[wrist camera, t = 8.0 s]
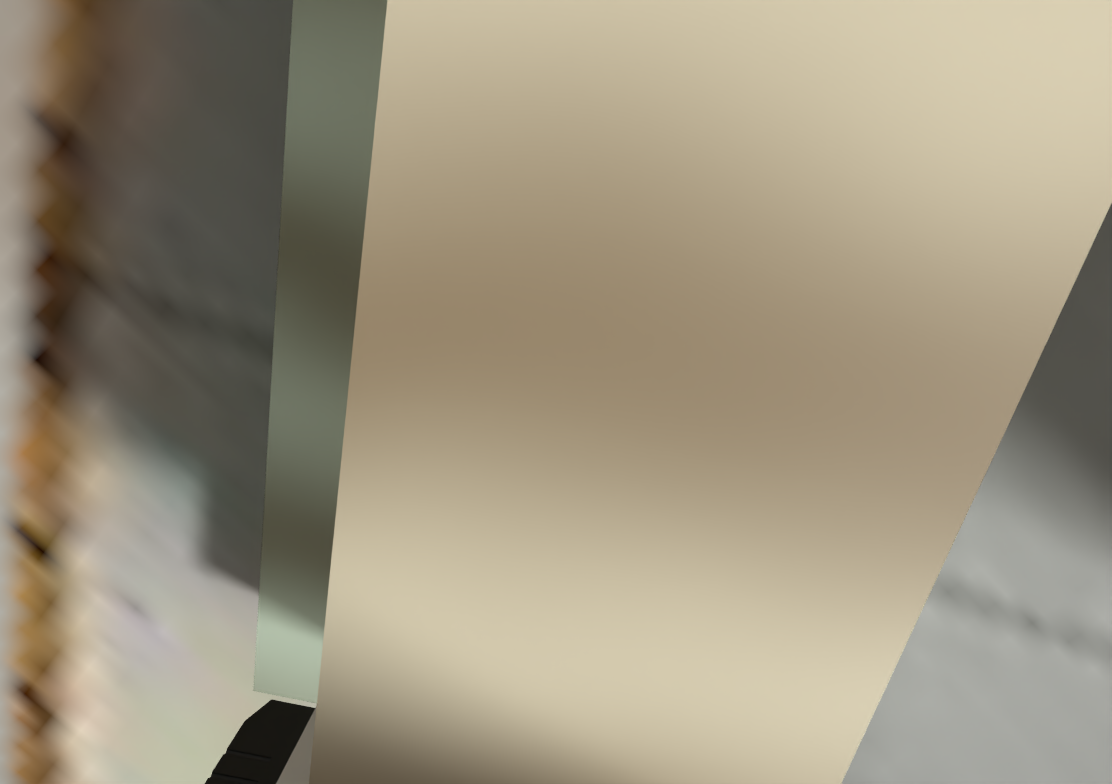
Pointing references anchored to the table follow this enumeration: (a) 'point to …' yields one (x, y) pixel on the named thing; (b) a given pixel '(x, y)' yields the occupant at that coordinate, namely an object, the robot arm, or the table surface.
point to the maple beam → (685, 369)
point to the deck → (314, 326)
